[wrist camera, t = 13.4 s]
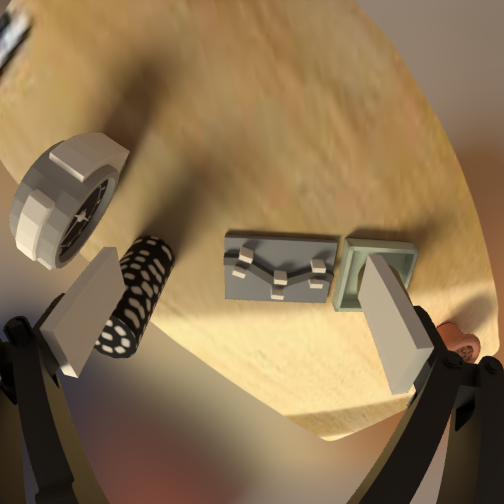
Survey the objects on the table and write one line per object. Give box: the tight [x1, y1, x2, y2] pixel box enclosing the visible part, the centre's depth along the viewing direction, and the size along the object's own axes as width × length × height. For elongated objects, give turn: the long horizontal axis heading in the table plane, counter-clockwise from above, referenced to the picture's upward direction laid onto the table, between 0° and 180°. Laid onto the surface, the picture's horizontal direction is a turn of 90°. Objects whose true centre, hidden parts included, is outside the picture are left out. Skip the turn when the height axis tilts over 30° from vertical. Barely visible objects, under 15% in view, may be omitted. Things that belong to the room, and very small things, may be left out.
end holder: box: [332, 238, 419, 312], centre depth 50 cm, size 13×13×3 cm
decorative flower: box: [436, 323, 481, 363], centre depth 46 cm, size 15×14×30 cm
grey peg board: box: [224, 234, 338, 303], centre depth 50 cm, size 12×18×4 cm, turn 88°
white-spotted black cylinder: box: [93, 236, 174, 359], centre depth 42 cm, size 8×8×20 cm
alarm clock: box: [9, 132, 130, 270], centre depth 36 cm, size 18×8×20 cm, turn 143°
